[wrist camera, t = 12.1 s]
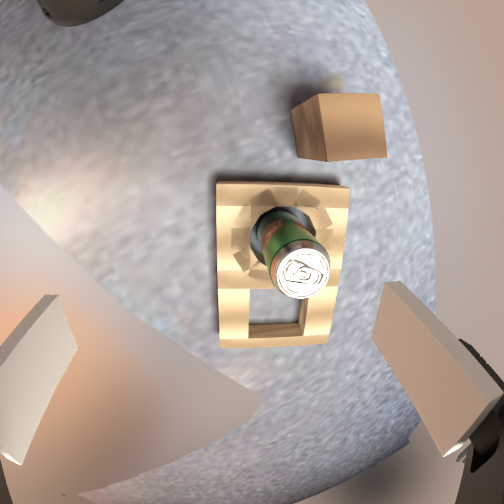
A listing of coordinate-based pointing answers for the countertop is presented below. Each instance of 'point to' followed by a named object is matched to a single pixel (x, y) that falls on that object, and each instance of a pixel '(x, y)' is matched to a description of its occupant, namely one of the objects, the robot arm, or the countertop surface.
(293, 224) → the soda can
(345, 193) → the socket board
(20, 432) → the robot arm
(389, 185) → the countertop surface
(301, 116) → the walnut square peg
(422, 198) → the countertop surface
